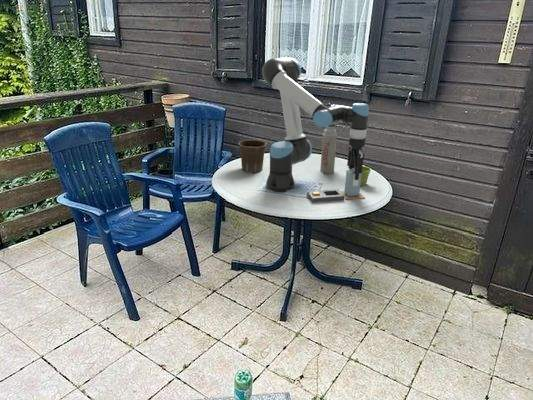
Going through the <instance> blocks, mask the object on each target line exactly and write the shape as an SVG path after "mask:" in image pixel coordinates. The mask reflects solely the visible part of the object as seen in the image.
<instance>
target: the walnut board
mask: <svg viewBox="0 0 533 400" xmlns="http://www.w3.org/2000/svg"><path fill="white" fill-rule="evenodd" d="M339 191H340V190H339ZM344 191H345V190H343V191H340V192H341V193H342V194H343V195H344V201H345V200H346V201H353V200H366V197H365V196H364V195H363V194H362V193H361V192H359V195H356V196H347V195H346V194H345V193H344Z"/></svg>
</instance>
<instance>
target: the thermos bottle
mask: <svg viewBox="0 0 533 400" xmlns="http://www.w3.org/2000/svg"><path fill="white" fill-rule="evenodd" d="M337 139H338V133H337V130H336V124H332V125H329V126H327V127H325V129H324V130H323V133H322V139H321V140H322V141H321V142H322V143H321V155H320V171H319V172H321V173H323V174H333V173H334V172H335V163H336V162H335V161H336V153H337V141H338V140H337Z"/></svg>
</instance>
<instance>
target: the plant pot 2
mask: <svg viewBox="0 0 533 400" xmlns="http://www.w3.org/2000/svg"><path fill="white" fill-rule="evenodd" d="M353 169H355V168H353ZM371 171H372V168H370V167H368V166H365V165H363V167H362V175H361V183H360V186H366V185H367V183H368V179H369V175H370V172H371Z"/></svg>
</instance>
